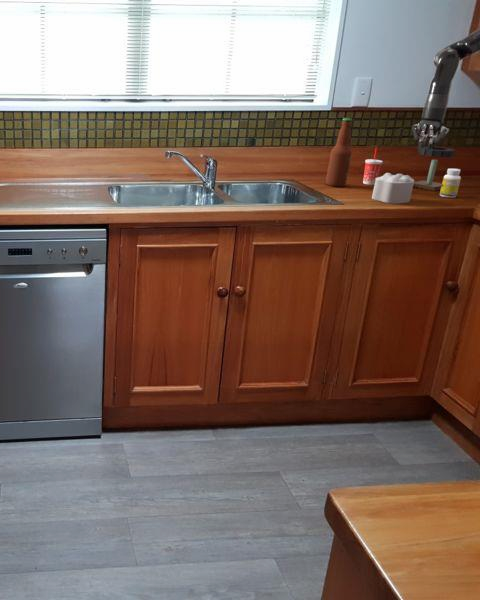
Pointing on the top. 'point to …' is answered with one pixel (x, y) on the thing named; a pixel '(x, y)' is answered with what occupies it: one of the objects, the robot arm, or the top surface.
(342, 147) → the bottle
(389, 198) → the white bumpy block
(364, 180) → the beverage cup
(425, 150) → the ring
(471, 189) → the top surface
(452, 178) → the supplement bottle
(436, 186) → the stand
